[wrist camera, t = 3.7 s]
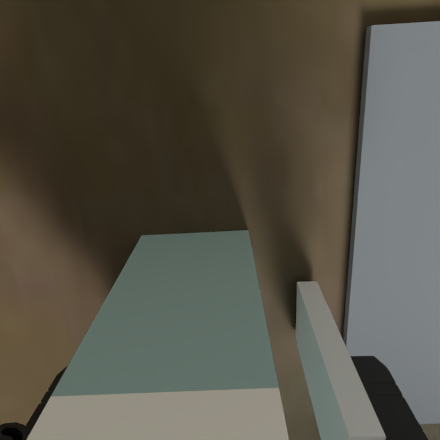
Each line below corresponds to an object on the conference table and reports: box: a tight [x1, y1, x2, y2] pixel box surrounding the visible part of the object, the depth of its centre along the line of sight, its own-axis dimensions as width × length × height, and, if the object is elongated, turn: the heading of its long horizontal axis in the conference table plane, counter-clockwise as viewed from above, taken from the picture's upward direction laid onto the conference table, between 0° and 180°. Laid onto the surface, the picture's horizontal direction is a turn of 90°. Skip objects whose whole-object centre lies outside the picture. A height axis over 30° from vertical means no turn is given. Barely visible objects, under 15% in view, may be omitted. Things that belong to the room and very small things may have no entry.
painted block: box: [27, 230, 289, 440], centre depth 10 cm, size 4×7×9 cm, turn 3°
